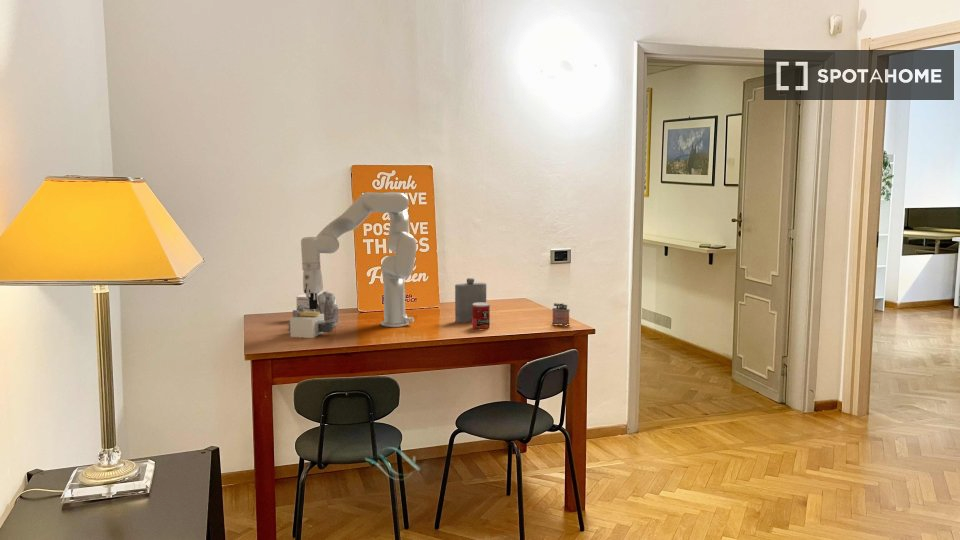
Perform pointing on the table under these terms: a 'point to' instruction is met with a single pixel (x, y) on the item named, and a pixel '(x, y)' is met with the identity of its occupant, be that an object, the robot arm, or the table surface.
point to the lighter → (560, 314)
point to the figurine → (328, 308)
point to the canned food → (481, 315)
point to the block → (304, 325)
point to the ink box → (303, 303)
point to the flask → (468, 299)
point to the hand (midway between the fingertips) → (313, 308)
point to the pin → (320, 327)
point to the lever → (308, 313)
